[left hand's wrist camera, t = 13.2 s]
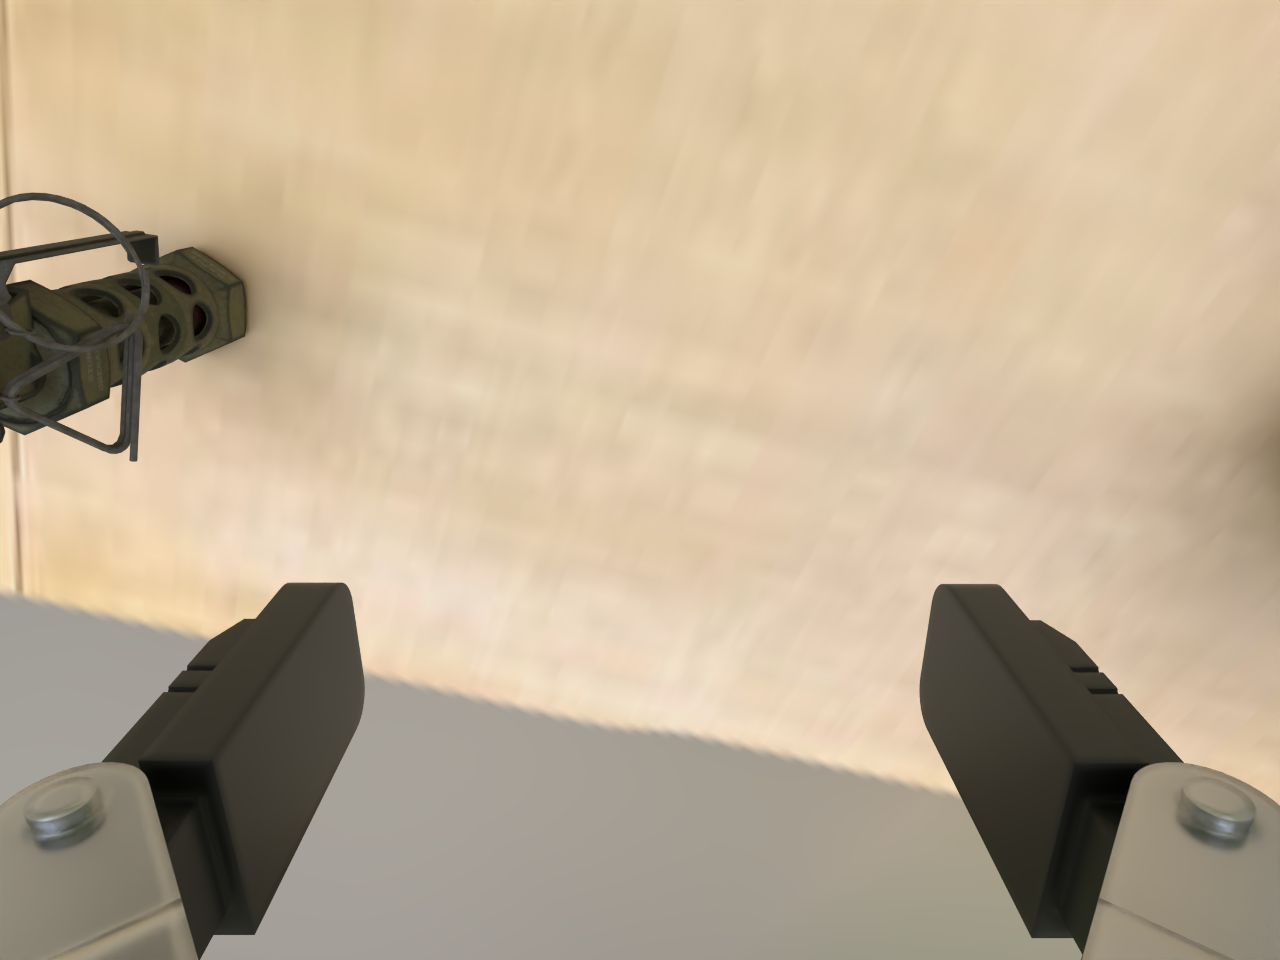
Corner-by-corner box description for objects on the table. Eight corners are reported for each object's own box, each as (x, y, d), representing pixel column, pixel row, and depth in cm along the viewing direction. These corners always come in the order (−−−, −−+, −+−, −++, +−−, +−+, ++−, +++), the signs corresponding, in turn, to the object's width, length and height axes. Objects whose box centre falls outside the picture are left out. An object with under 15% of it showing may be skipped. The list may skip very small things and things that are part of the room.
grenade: (280, 382, 39) (82, 506, 25) (156, 366, 39) (-113, 482, 25) (275, 190, 36) (45, 212, 22) (140, 170, 36) (-179, 179, 22)
